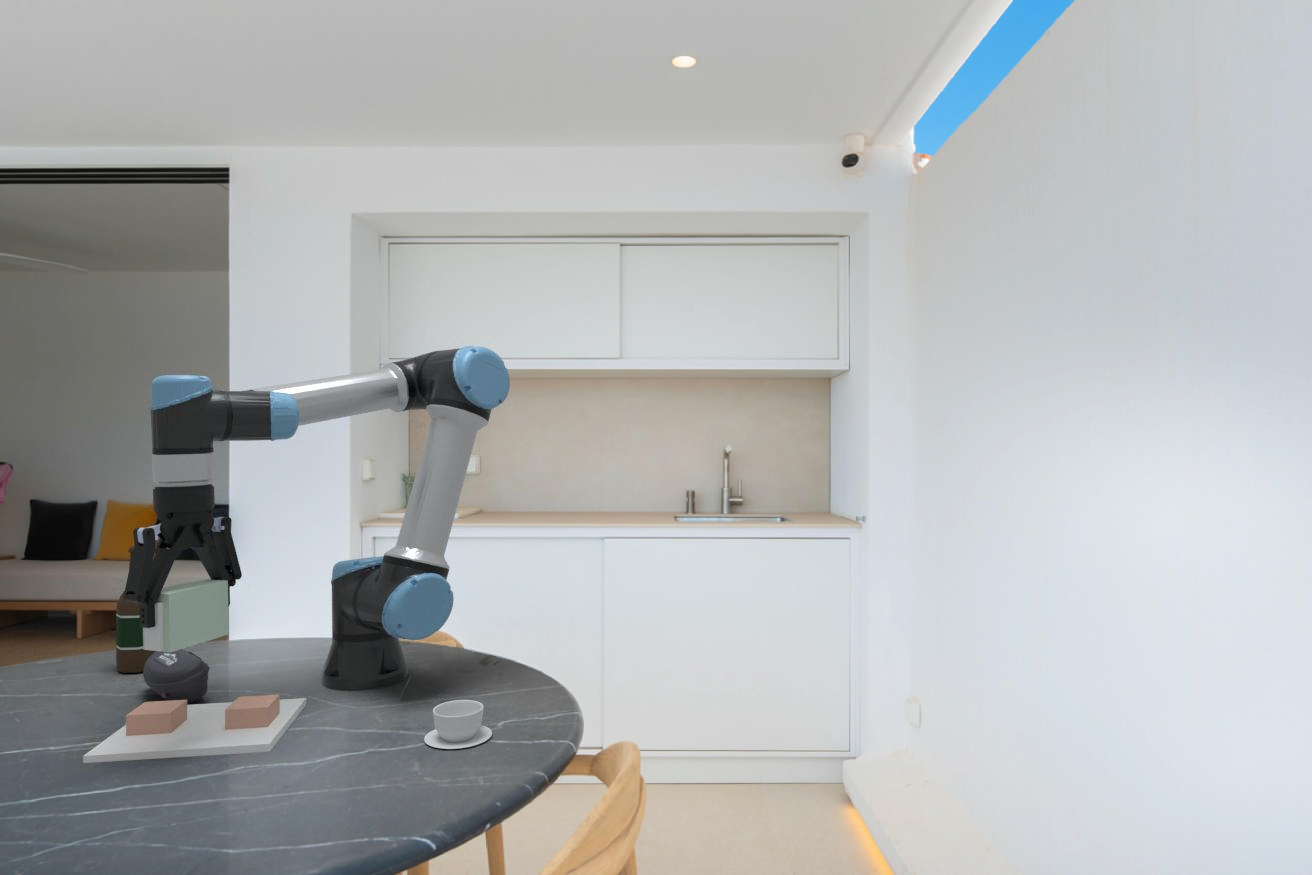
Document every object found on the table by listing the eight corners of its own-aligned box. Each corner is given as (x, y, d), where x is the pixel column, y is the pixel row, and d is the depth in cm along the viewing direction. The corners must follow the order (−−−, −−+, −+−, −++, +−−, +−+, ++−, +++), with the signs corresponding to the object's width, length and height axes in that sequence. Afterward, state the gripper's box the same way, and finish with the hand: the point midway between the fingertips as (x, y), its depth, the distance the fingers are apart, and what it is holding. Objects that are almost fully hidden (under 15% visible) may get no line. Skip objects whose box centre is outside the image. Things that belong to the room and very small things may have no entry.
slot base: (306, 705, 132) (306, 680, 132) (269, 751, 112) (269, 722, 112) (149, 714, 127) (149, 688, 127) (83, 764, 108) (82, 734, 108)
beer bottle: (172, 663, 156) (172, 543, 156) (135, 675, 148) (135, 549, 148) (144, 660, 158) (144, 542, 158) (106, 671, 151) (106, 547, 151)
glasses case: (131, 692, 139) (131, 648, 139) (197, 678, 146) (197, 637, 146) (163, 716, 126) (163, 668, 126) (233, 700, 134) (233, 655, 134)
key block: (203, 631, 117) (202, 578, 117) (229, 634, 115) (227, 580, 115) (143, 649, 108) (141, 591, 108) (170, 652, 106) (168, 593, 106)
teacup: (457, 757, 110) (457, 724, 110) (409, 743, 116) (409, 711, 116) (506, 734, 119) (506, 703, 119) (458, 722, 124) (458, 692, 124)
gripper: (229, 478, 123) (232, 619, 123) (86, 490, 102) (91, 660, 102) (266, 478, 121) (270, 622, 121) (127, 490, 100) (132, 665, 100)
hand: (188, 639), depth 112 cm, fingers closed on key block, 9 cm apart
